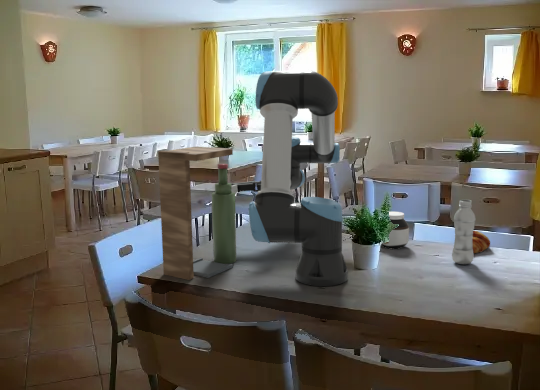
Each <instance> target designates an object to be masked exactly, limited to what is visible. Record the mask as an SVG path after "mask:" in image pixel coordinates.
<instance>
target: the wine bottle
mask: <svg viewBox="0 0 540 390" xmlns="http://www.w3.org/2000/svg"><path fill="white" fill-rule="evenodd" d="M228 168H229V164H228V163H218V164H217V169H218V170H217V171H218V175H217V176H218V182H216V183H215V184H214V191H213V192H211V213H212V214H211V218H212V219H211V220H212V224H211V225H212V251H213V252H212V253H213V257H212V259H213V262H216V263H222V264H227V265H228V264H233V263H236V262H237V258H238V257H237V232H236V231H237V219H236V218H237V217H236V216H237V215H236V214H237V213H236V194H235V192H232V185H231V184H232V182H228Z"/></svg>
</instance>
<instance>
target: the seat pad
mask: <svg viewBox="0 0 540 390" xmlns="http://www.w3.org/2000/svg"><path fill="white" fill-rule="evenodd" d="M233 267H234V264H233V263H229V264H222V263H216V262H214V261H209V260H207V259H206V260H205V259H203V258H202V257H199V258H197V259H193V272H194V276H198V277H203V278H209V279H210V278H211V277H214V276H216V275H219V274H221V273H223V272H225V271H227V270H229V269H232V268H233Z"/></svg>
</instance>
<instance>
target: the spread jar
mask: <svg viewBox="0 0 540 390" xmlns="http://www.w3.org/2000/svg"><path fill="white" fill-rule="evenodd" d="M388 212H389V217H390V220H391V222H392V223H393V224H399V226H398V227H397V228H395V229H393V230H392V231H391V232H390V234H389V239H390V241H389V242H386V243H382V244H380V245H381V246H382V247H384V248H385V247H386V248H385V249H389V248H392V249H391V250H399V249H398V248H400V249H402V248H404V247H406V245H408V244H409V239H410V227H409V223H408V222H407V221H406V219H405V213H404V212H401V211H388Z"/></svg>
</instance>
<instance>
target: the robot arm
mask: <svg viewBox="0 0 540 390" xmlns="http://www.w3.org/2000/svg"><path fill="white" fill-rule="evenodd" d="M256 82H257V83H256V88H255V99H254V101H255V107H256V109H257V110H259V113H260V115H261V116H262V117H263V118H264V122H263V123H264V124H263V139H262V141H263V142H262V143H263V144H262V159H261V160H262V161H261V163H262V165H261V176H260V177H261V180H259V181H255V180H250V181H243V182H231V185H232V192H235V195H236V194H237V193H238V192H250V191H251V192H254V193H256V192H257V193H256V194H255V196H254V201H250V202H249V204H248V217H249V225H250V232H251V235H252V238H253V239H254V241H256V242H258V243H259V242H260V243H267V244H271V243H274V244H275V243H277V244H279V243H281V244H282V243H283V244H284V243H285V244H287V243H288V244H290V243H291V244H301V252H300V256H299V258H298V262H297V265H296V268H295V280H296V281H298V282H299V283H301V284H305V285H308V286H315V287H331V286H332V287H333V286H338V285H341V284H343V283H346V282H347V281H348V280H349V279H348V278H349V277H348V276H349V274H348V268H347V264H346V261H345V258H344V256H343V255H344V254H343V221H344V218H343V208H342V205H341V204H340V203H339V201H338V202H337V201H336V200H333V199H330V198H326V197H321V196H320V197H318V196H305V197H303V198H301V199H300V202H296V201H295V200H296V198H295V195H294V194H293V193H292V192H291V191H292V190H296V189H298V188H300V187H302V186H303V185H304V184H305V180H306V177H305V173H304V171H303V170H302V169H301V164H329V165H330V164H338V163H340V159H341V157H340V156H341V155H340V154H341V152H340V151H341V150H340V149H341V146H340V143H338V142H337V143H336V142H335V141H336V140H335V135H336V134H335V130H336V128H335V127H336V126H335V124H336V123H335V119H336V117H335V115H336V114H335V112H336V111H337V110H338V106H339V105H338V104H339V100H338V99H339V98H338V97H339V96H338V93H337V91H336V89H335V87H334V86H333V84H332V83H331V82H330V81H329V80H328V78H326V76H324V75H322V74H321V73H319V72H316V71H313V70H309V69H308V70H276V69H275V70H274V69H273V70H272V71H271V70H270V71H268V70H267V71H262V73H260V75H259V77H258V79H257V81H256ZM304 109H305V110H306V109H308V111H309V112H310V114H311V125H312V126H311V127H312V142H302V141H301V138H300V137H295V136H293V120H294V119H295V117H297V116H298V112H299V110H304Z"/></svg>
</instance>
